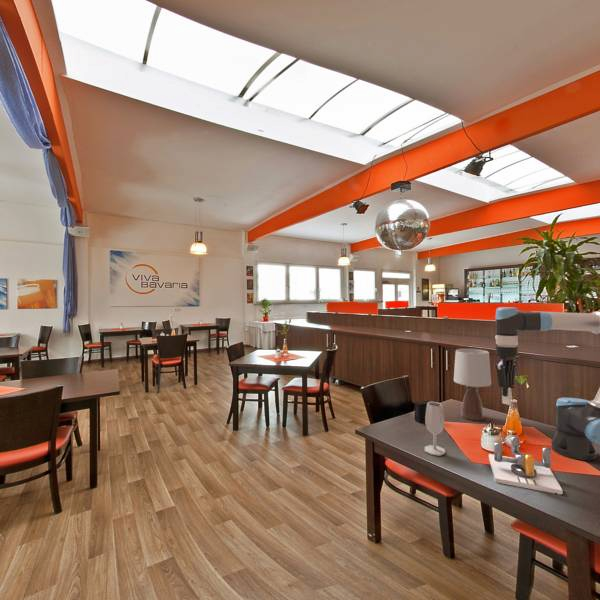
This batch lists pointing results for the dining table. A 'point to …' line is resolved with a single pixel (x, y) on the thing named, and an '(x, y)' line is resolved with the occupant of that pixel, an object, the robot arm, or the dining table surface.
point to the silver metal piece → (522, 459)
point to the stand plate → (540, 482)
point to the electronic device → (420, 410)
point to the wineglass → (434, 426)
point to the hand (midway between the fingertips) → (506, 403)
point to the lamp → (472, 379)
